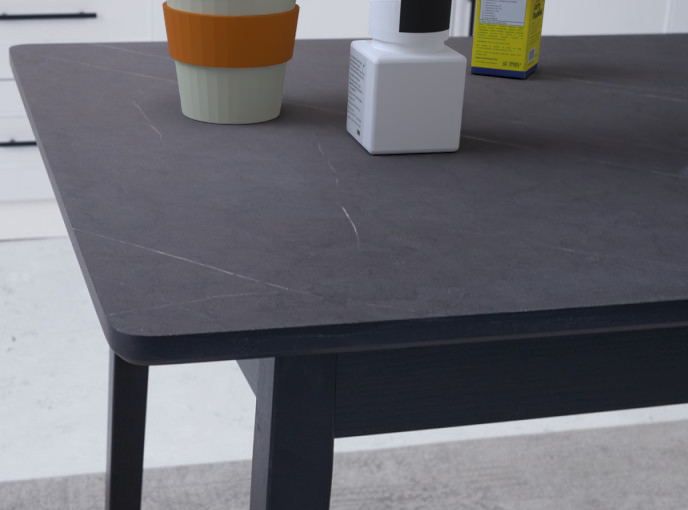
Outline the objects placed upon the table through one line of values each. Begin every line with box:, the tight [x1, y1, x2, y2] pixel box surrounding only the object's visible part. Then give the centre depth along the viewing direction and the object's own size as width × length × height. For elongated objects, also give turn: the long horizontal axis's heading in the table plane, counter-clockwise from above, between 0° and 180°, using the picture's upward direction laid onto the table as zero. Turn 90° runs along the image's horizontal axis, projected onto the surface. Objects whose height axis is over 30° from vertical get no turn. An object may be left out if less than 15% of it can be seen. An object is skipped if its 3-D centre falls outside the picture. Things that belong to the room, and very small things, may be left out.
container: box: [346, 0, 468, 155], centre depth 95 cm, size 8×8×13 cm
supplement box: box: [470, 0, 546, 80], centre depth 121 cm, size 6×6×11 cm
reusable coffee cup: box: [162, 0, 301, 125], centre depth 102 cm, size 13×13×15 cm
